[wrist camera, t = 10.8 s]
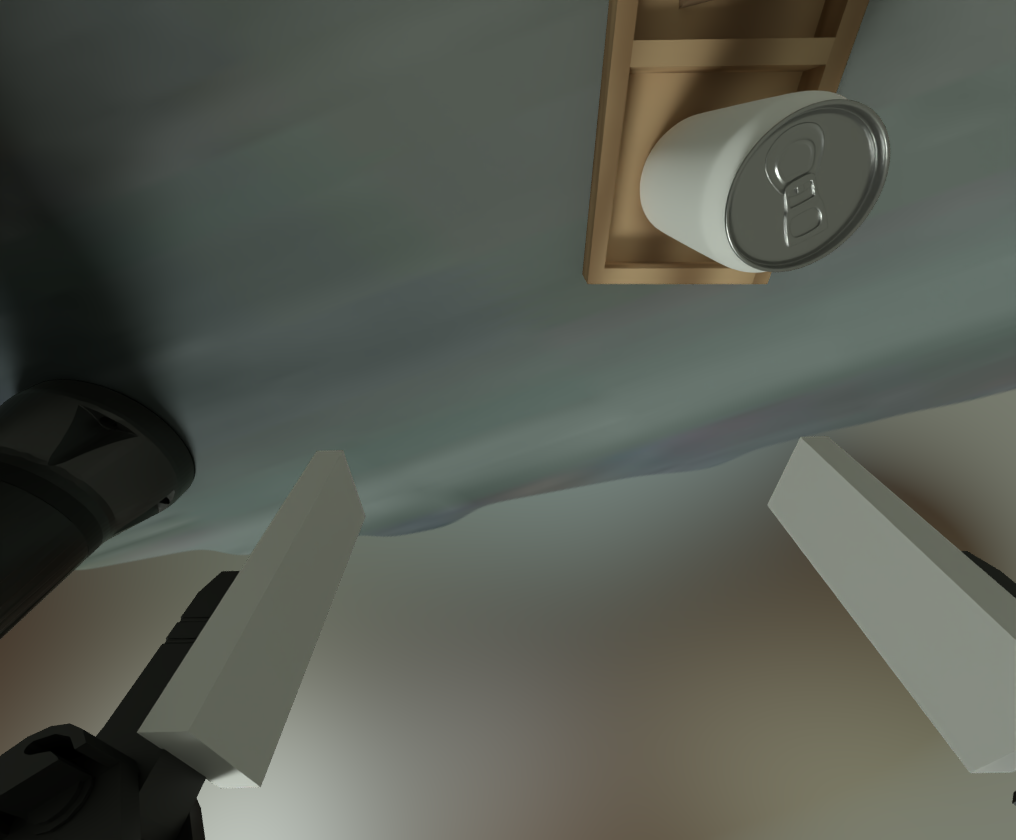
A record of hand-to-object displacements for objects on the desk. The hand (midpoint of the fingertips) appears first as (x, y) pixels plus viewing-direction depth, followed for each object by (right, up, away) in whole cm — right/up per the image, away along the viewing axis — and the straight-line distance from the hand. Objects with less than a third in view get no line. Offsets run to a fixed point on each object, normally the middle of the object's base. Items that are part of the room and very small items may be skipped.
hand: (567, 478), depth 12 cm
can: (+10, +17, +13) cm, 24 cm away
